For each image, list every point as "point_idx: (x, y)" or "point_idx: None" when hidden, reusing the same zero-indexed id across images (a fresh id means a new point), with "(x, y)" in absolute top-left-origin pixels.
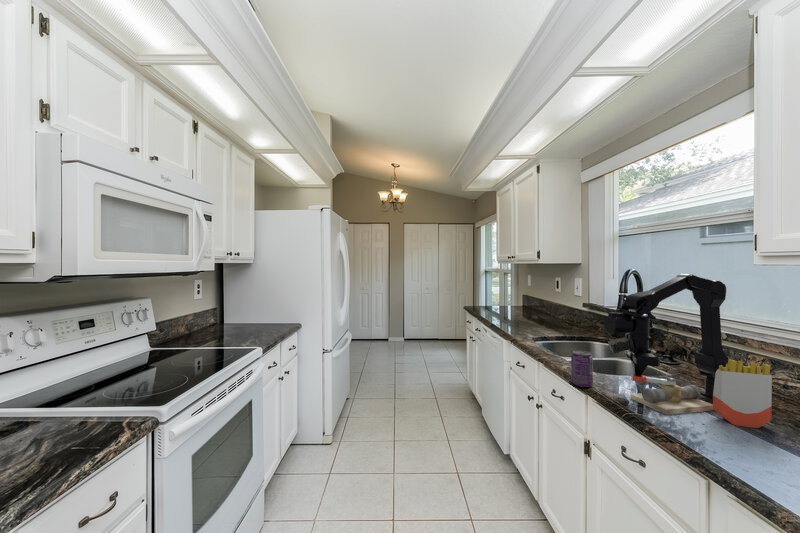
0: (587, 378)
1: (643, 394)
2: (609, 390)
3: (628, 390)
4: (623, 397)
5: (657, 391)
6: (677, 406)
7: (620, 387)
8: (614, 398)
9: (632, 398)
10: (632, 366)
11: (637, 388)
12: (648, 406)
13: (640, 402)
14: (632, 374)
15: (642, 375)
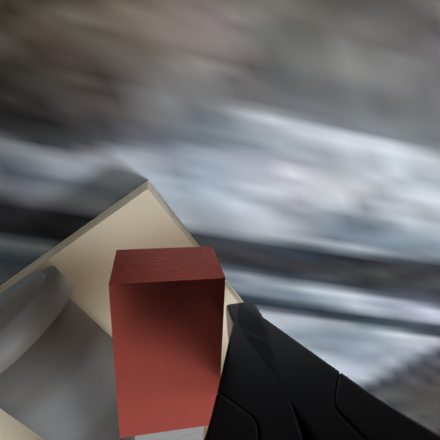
0: None
1: (31, 284)
2: (287, 42)
3: (336, 197)
4: (149, 127)
5: (16, 416)
6: (26, 436)
7: (387, 153)
8: (76, 37)
9: (135, 191)
10: (350, 380)
11: (394, 261)
12: (22, 271)
13: (75, 232)
14: (202, 293)
15: (213, 402)
